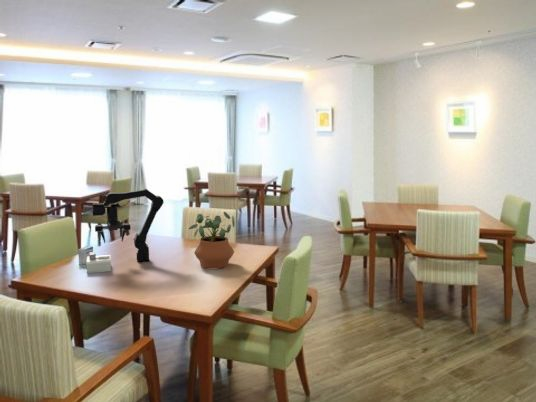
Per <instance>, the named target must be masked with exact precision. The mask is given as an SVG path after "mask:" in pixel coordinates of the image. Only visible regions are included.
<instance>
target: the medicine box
mask: <svg viewBox="0 0 536 402" xmlns="http://www.w3.org/2000/svg"><path fill="white" fill-rule="evenodd" d="M77 251H78V252H77V253H78V264H79V265H86V261H87V256H89V254H90V252H94V247H93V246H89V245H87V246H84V247H81V248H79V249H78V250H77Z"/></svg>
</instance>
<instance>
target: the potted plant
mask: <svg viewBox="0 0 536 402" xmlns="http://www.w3.org/2000/svg"><path fill="white" fill-rule="evenodd" d="M223 215H224V216H225V219H223V220H222V218H221V217H222V216H221V215H215V217H214V218H213V219H211V218H210V215H207V216H205V218H206V219H205V221H204V215H203V214H202V213H198V214H197V215H196V216H197V217H196V220H195V224H193V225H190V226H189V228H188V230H191V229H196V230H195V232H194V234H193V238H195V237H196V236H197V234H198V233H199V235H200V237H201V238H200V239H199V240H200V241H199V244H198V245H197V247H196V248H195V250H194V251H193V253H194V256H195V257H196V258H197V259H198V261H199V264H200V267H201V268H202V269H207V268H220V269H223V268H222V267H224V268H226V267H225V266H227V265H228V266H229V262H230V260H231V259H232V257H233V255H234V253H235V250H234V248H233V246H232V245H231V244H230V243H229V238H228V237H227V236H226V233H227V234H229V233H230V232H231V228H232V227H233V228H235V217H234V215H232V217H230V215H229V213H227V212H226V211H223ZM226 219H228V220H231V223H232V225H231V224H228V225H227V227H226V229H225V228H223V226H225V224H224V225H222V226H221V225H220V224H221V223H222V222H223V221H225V220H226ZM203 221H204V225H199V227H198V224H202V223H203ZM197 227H198V228H197ZM205 228H206V229H207V230H208V231H209V232H210V234H211V235H210V234H208V235H205V234H207V232H205ZM209 228H210V229H211V230H212V231H211V230H210V229H209ZM218 231H219V233H218ZM228 266H227V267H228Z"/></svg>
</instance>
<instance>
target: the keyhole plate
mask: <svg viewBox="0 0 536 402" xmlns="http://www.w3.org/2000/svg"><path fill="white" fill-rule="evenodd" d="M111 259H112V257H111V254H103V255H96V260H90V259H89V256H87V261H86V264H85V265H86V274H93V273H104V272H105V273H106V272H112V262H111Z"/></svg>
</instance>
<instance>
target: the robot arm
mask: <svg viewBox="0 0 536 402" xmlns="http://www.w3.org/2000/svg"><path fill="white" fill-rule="evenodd" d="M143 197H145V198H146V199H148V200H149V201H151V204H150V209H149V212H148V214H147V215H146V219H145V220H144V223H143V225H142V227H141V230H140V232H139V233H137V232H136V233H135V235H134V236H135V237H134V238H133V245H134V247H135V249H137V250H136V251H137V252H136V261H137V262H138V263H142V262H143V263H144V262H151V261H150V250H149V249H150V247H149V246H148V244H147V243H146V242H147V237H148V233H149V231H150V229H151V226H152V224H153V222H154V219H155V218H156V215H157V213H158V212H159V210H161V208H162V206H163V205H164V201H165V200H164V199H163V198H162V197H161V196H160V195H155V194H154V193H153V192H152V191H150V190H149V189H148V188H144V189H143V188H142V189H139V190H131V191H125V192H115V191H112V192H108V193H107V194H106V198H105V200H104V201H103V203H92V217H99V216H100V217H102V216H104V215H105V214H106V217H107V218H106V219H107V221H106V225H103V224H95V226H94V232H97V233H98V234H99V235H100V236H101V237H102V240H103V242H104V244H106V238H105V232H104V230H108V231H118V230H119V229H122V230H121V231H122V232H121V242H122V243H123V241H124V238H125V235H126V232H129V230H131V229H132V228H131V223H125V222H124V223H122V220H119V214H118V212H119V211H118V210H119V208H121V206H122V205H121V203H119V202H122V201H124V200H129V199H130V200H131V199H136V198H143Z"/></svg>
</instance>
